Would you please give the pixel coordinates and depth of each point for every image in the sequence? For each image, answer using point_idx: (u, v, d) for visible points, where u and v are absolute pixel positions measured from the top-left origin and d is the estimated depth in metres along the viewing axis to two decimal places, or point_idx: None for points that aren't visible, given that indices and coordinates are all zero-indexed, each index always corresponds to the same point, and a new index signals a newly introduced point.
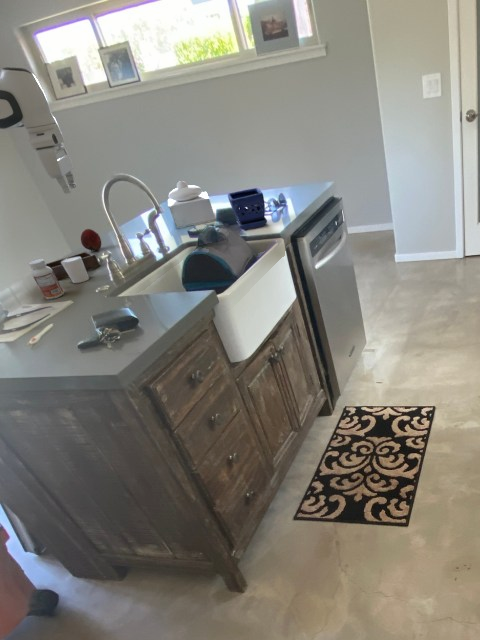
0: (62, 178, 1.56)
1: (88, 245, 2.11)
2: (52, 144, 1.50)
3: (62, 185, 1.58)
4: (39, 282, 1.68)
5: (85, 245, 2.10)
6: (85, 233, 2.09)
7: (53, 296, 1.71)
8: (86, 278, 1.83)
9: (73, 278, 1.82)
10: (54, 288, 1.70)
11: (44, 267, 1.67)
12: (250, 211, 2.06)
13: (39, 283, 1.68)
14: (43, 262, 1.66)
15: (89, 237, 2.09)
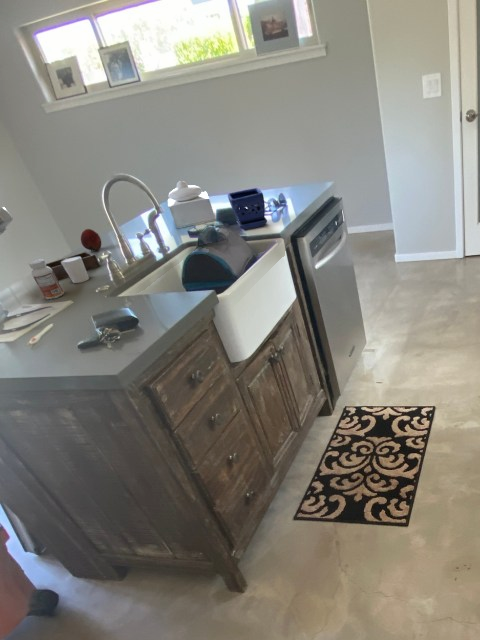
0: None
1: (88, 245, 2.11)
2: None
3: None
4: (39, 282, 1.68)
5: (85, 245, 2.10)
6: (85, 233, 2.09)
7: (53, 296, 1.71)
8: (86, 278, 1.83)
9: (73, 278, 1.82)
10: (54, 288, 1.70)
11: (44, 267, 1.67)
12: (250, 211, 2.06)
13: (39, 283, 1.68)
14: (43, 262, 1.66)
15: (89, 237, 2.09)
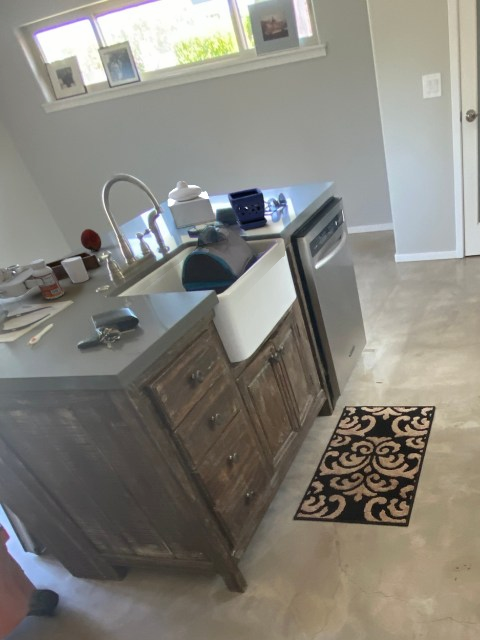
0: None
1: (88, 245, 2.11)
2: None
3: None
4: None
5: (85, 245, 2.10)
6: (85, 233, 2.09)
7: (53, 296, 1.71)
8: (86, 278, 1.83)
9: (73, 278, 1.82)
10: (54, 288, 1.70)
11: (44, 267, 1.67)
12: (250, 211, 2.06)
13: None
14: (43, 262, 1.66)
15: (89, 237, 2.09)
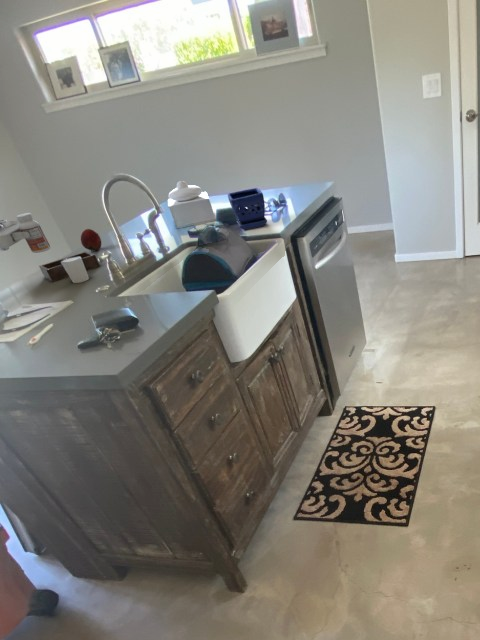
0: None
1: (88, 245, 2.11)
2: None
3: None
4: None
5: (85, 245, 2.10)
6: (85, 233, 2.09)
7: (40, 250, 1.76)
8: (86, 278, 1.83)
9: (73, 278, 1.82)
10: (41, 242, 1.75)
11: (31, 220, 1.71)
12: (250, 211, 2.06)
13: None
14: (30, 215, 1.71)
15: (89, 237, 2.09)
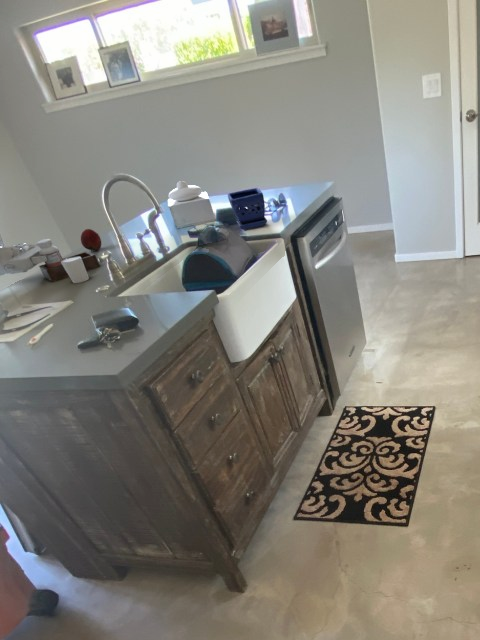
0: None
1: (88, 245, 2.11)
2: None
3: None
4: None
5: (85, 245, 2.10)
6: (85, 233, 2.09)
7: None
8: (86, 278, 1.83)
9: (73, 278, 1.82)
10: None
11: (50, 246, 1.85)
12: (250, 211, 2.06)
13: None
14: (50, 241, 1.84)
15: (89, 237, 2.09)
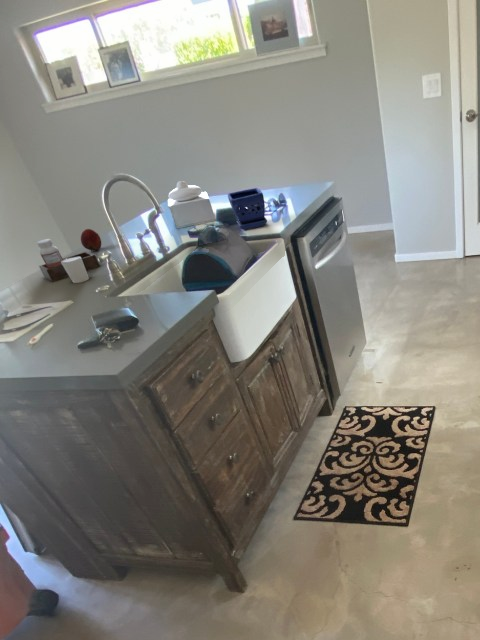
0: None
1: (88, 245, 2.11)
2: None
3: None
4: (46, 259, 1.86)
5: (85, 245, 2.10)
6: (85, 233, 2.09)
7: None
8: (86, 278, 1.83)
9: (73, 278, 1.82)
10: None
11: (50, 246, 1.85)
12: (250, 211, 2.06)
13: (46, 260, 1.86)
14: (50, 241, 1.84)
15: (89, 237, 2.09)
